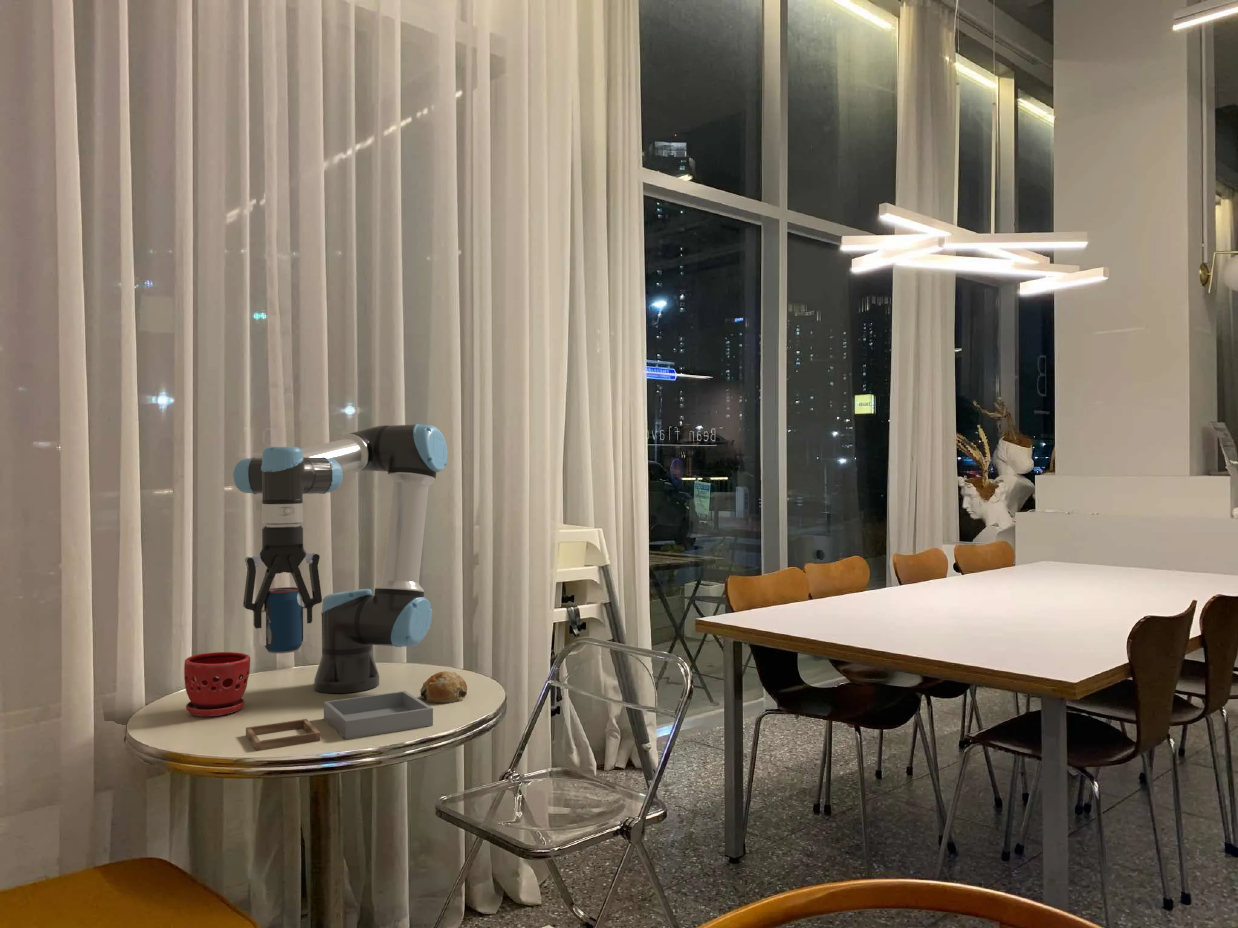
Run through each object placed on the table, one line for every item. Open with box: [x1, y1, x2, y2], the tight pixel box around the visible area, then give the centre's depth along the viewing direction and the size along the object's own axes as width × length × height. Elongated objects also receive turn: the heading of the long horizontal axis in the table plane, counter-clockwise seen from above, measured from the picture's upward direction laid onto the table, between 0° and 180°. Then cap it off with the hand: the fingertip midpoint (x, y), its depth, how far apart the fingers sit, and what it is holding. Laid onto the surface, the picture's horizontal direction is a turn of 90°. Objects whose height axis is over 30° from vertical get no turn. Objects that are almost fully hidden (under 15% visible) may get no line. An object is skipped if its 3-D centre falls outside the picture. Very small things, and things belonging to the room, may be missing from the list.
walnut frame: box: [245, 718, 321, 751], centre depth 173 cm, size 12×12×2 cm
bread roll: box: [419, 670, 468, 704], centre depth 203 cm, size 10×10×8 cm
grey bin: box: [323, 690, 434, 740], centre depth 184 cm, size 18×18×4 cm
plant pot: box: [183, 651, 251, 718], centre depth 192 cm, size 13×13×12 cm
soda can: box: [263, 586, 303, 654], centre depth 173 cm, size 7×7×12 cm
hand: (283, 642), depth 173 cm, fingers closed on soda can, 7 cm apart
